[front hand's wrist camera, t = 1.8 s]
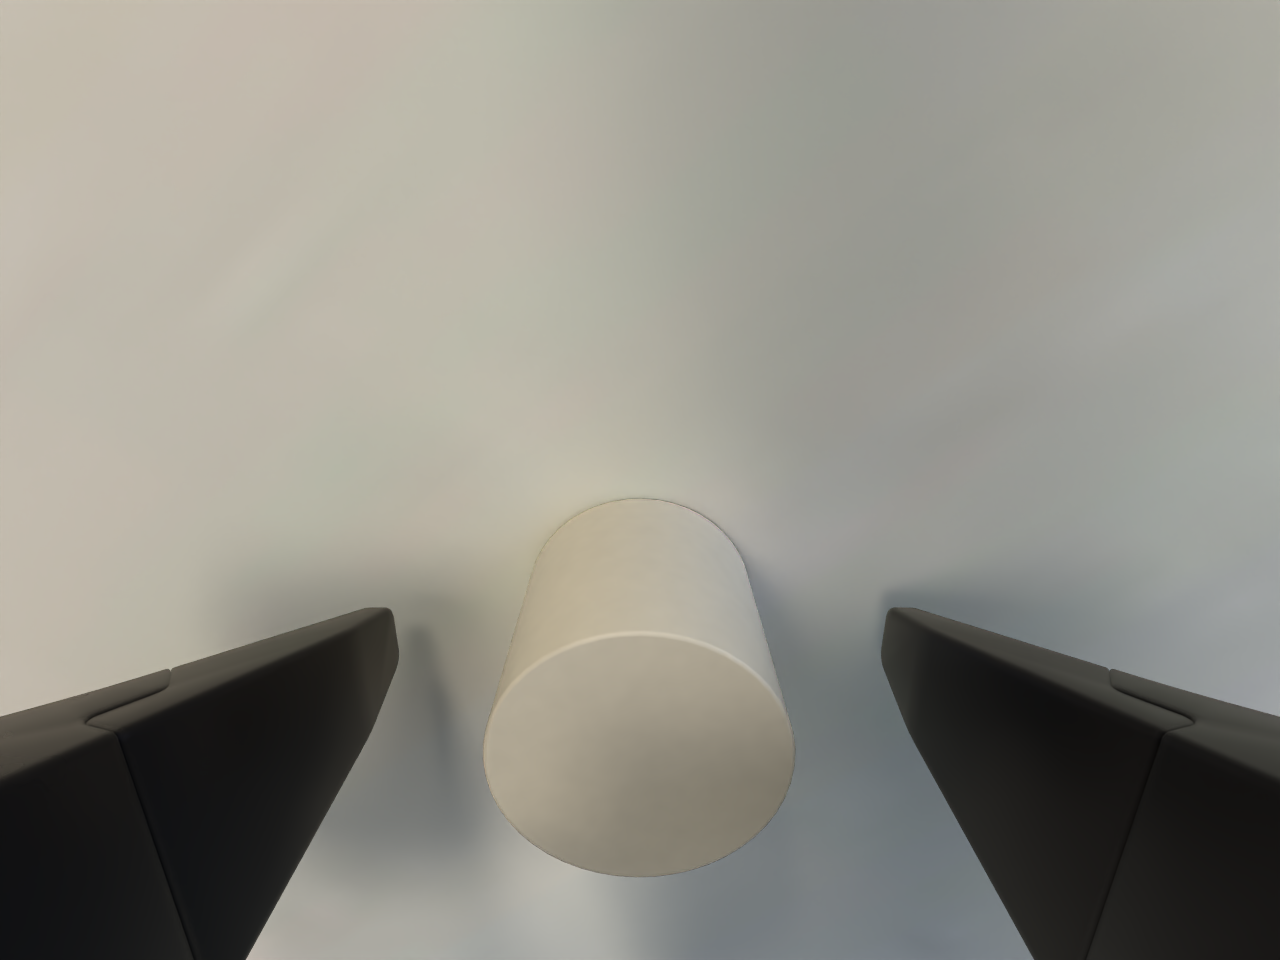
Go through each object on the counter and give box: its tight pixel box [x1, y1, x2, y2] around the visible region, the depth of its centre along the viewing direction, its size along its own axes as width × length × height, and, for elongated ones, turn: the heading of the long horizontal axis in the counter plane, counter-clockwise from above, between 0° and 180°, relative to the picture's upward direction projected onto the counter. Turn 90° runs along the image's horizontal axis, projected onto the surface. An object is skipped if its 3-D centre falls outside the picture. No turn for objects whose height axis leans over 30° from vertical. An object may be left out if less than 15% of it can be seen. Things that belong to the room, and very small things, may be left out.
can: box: [483, 499, 795, 877], centre depth 11 cm, size 4×4×4 cm
